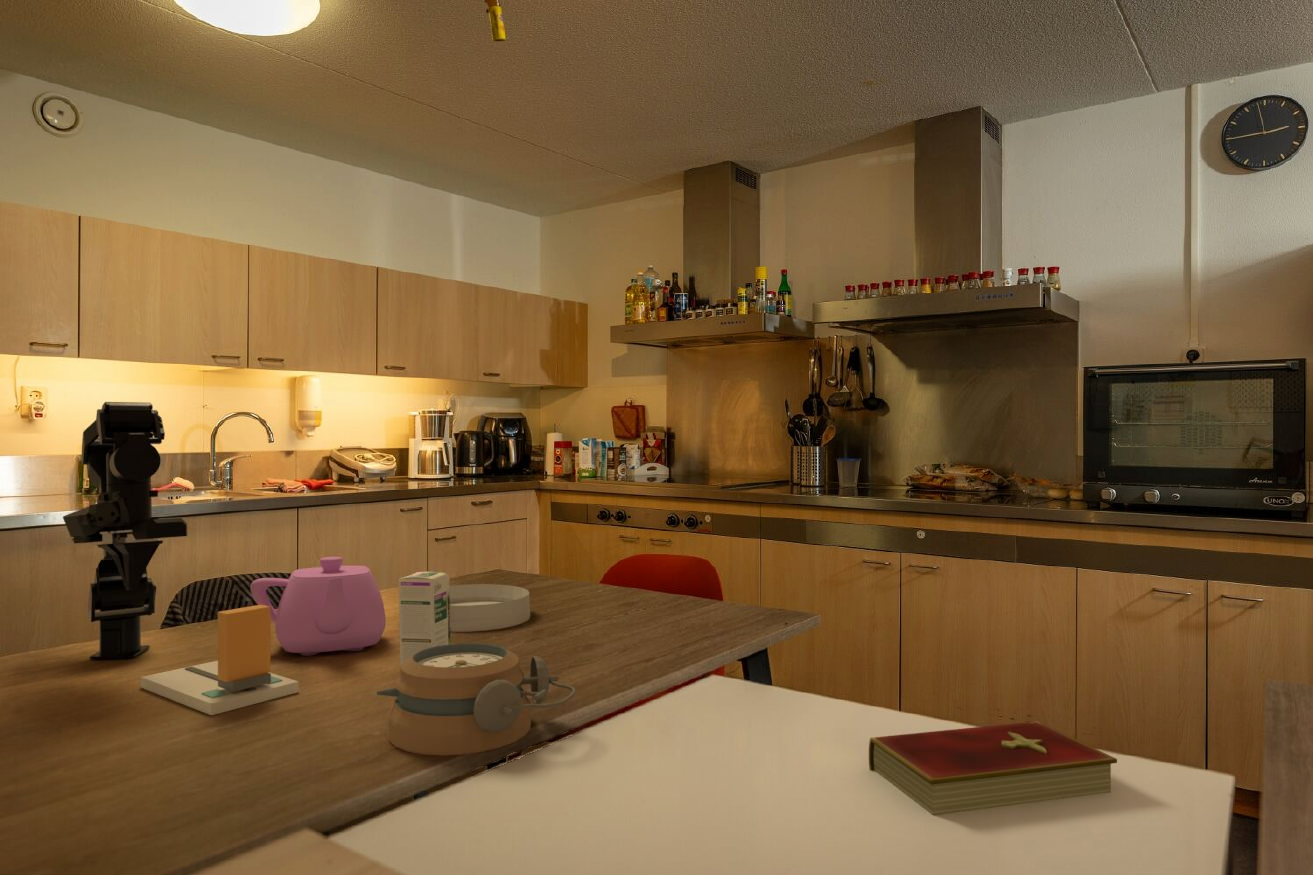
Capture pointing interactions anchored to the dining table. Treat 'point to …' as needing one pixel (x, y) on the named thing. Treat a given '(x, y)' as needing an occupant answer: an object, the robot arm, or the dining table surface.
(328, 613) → the teapot
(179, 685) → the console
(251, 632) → the fader
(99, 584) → the robot arm
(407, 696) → the alarm clock
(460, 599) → the dish
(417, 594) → the syrup box
